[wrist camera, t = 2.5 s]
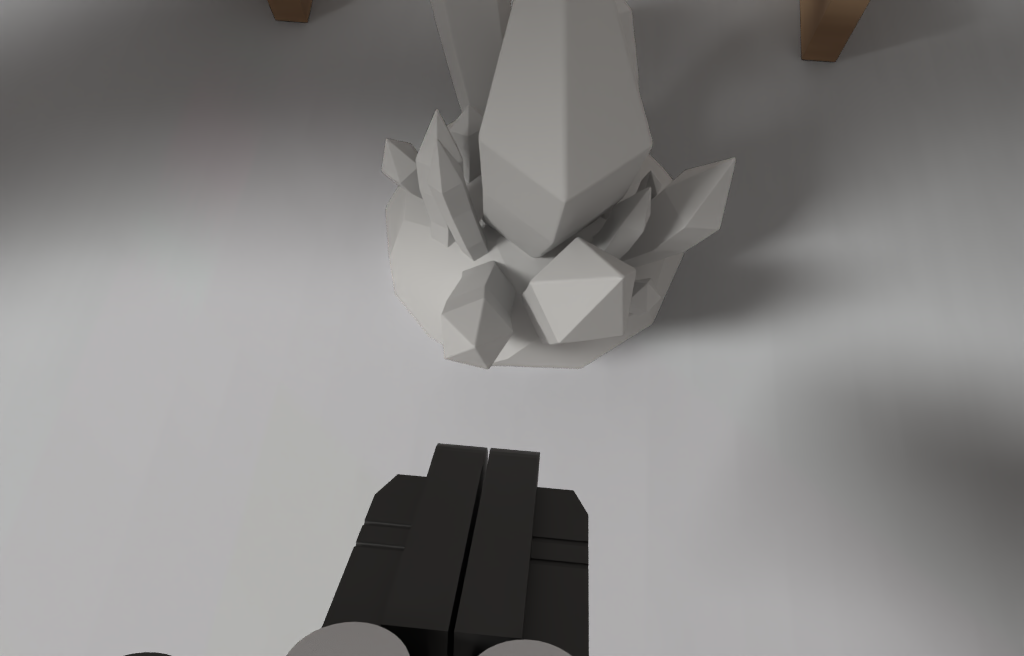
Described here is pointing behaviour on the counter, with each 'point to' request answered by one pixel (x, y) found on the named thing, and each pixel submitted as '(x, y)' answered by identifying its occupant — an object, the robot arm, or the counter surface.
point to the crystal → (541, 190)
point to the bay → (823, 15)
